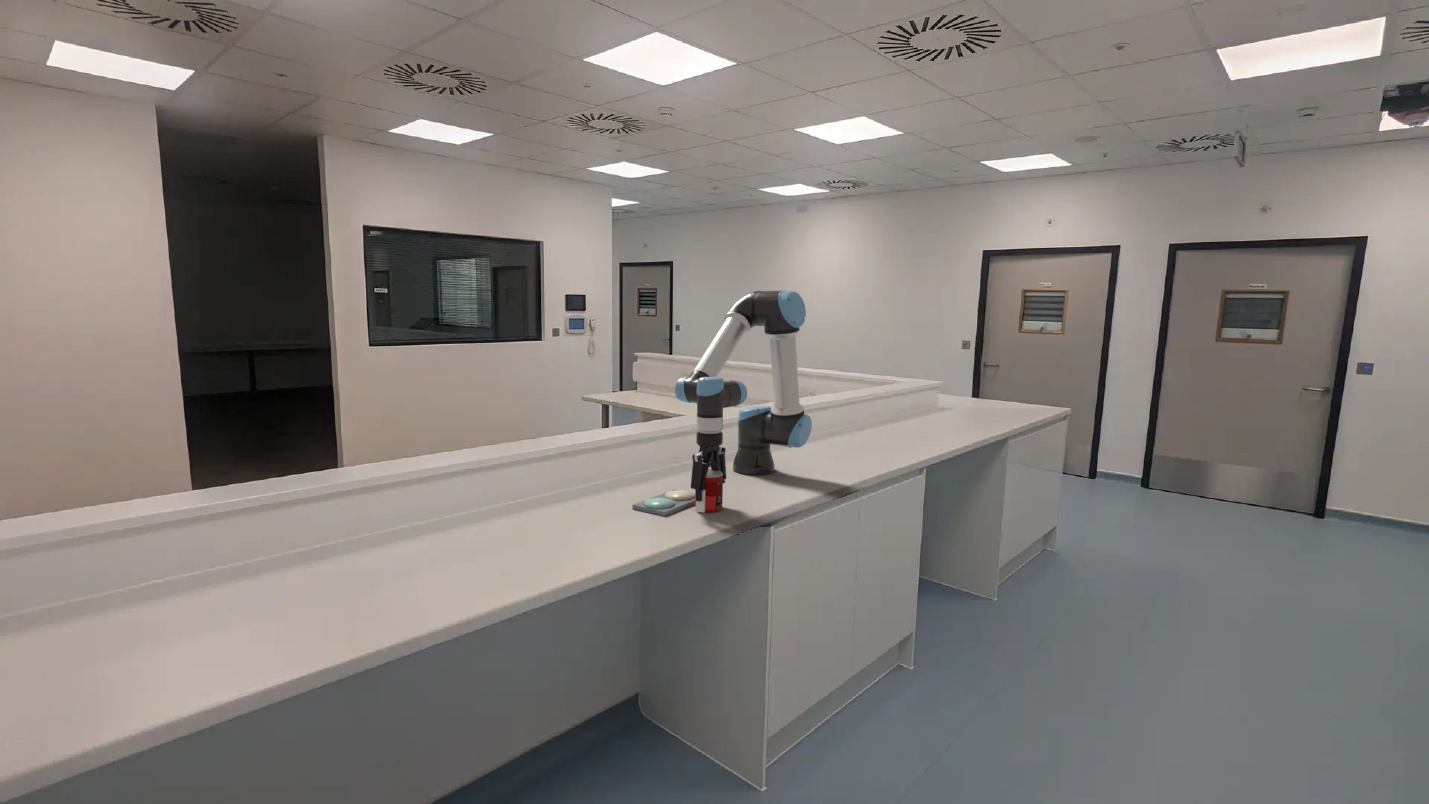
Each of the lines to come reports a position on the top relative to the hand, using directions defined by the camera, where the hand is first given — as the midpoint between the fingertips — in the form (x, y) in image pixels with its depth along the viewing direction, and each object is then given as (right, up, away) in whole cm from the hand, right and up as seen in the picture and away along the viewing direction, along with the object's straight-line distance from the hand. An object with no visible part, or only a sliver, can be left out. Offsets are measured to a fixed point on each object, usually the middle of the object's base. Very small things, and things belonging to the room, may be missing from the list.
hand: (708, 507), depth 190 cm
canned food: (0, -1, 0) cm, 0 cm away
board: (-12, 0, +4) cm, 12 cm away
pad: (-14, +1, 0) cm, 14 cm away
